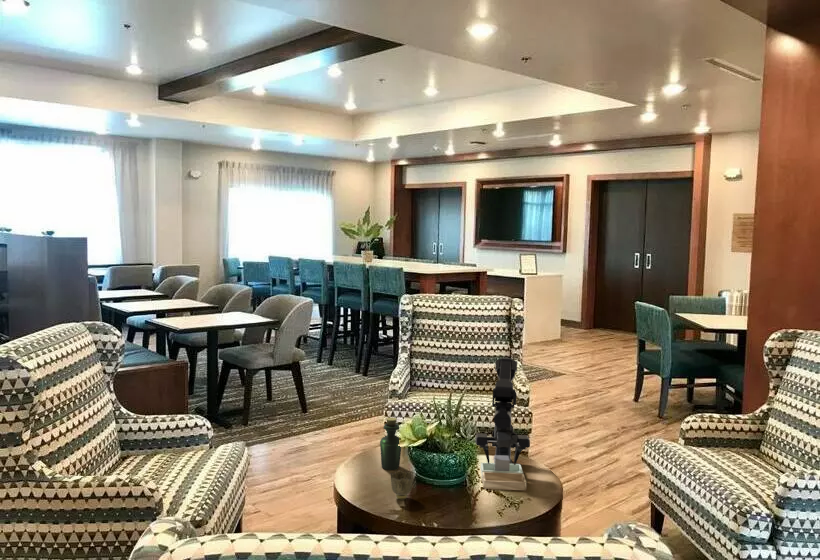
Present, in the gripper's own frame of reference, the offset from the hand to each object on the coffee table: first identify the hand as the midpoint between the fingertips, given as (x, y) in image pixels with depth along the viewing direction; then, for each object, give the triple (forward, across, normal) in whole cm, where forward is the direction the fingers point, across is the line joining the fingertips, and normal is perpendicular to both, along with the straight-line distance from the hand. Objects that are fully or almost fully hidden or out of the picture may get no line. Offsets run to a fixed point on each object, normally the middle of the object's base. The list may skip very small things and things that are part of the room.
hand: (501, 464), depth 225 cm
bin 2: (+5, 0, -10) cm, 11 cm away
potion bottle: (+5, -40, +5) cm, 41 cm away
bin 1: (+5, 0, 0) cm, 5 cm away
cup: (+5, -34, -23) cm, 41 cm away
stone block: (+4, 0, 0) cm, 4 cm away
